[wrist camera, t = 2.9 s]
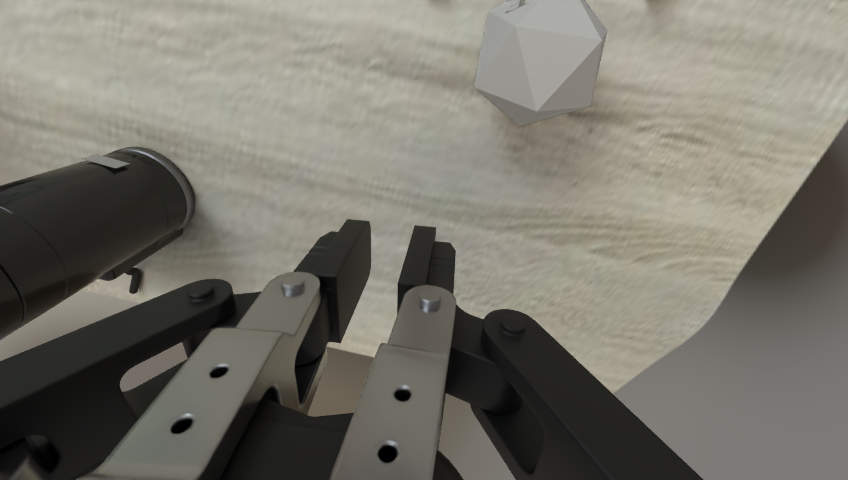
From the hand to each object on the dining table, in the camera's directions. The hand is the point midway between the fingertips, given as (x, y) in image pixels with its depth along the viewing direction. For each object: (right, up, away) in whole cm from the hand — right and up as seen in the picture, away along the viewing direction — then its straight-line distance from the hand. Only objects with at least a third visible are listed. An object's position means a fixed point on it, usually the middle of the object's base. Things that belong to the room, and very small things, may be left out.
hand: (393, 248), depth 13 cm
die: (+10, +15, +17) cm, 25 cm away
